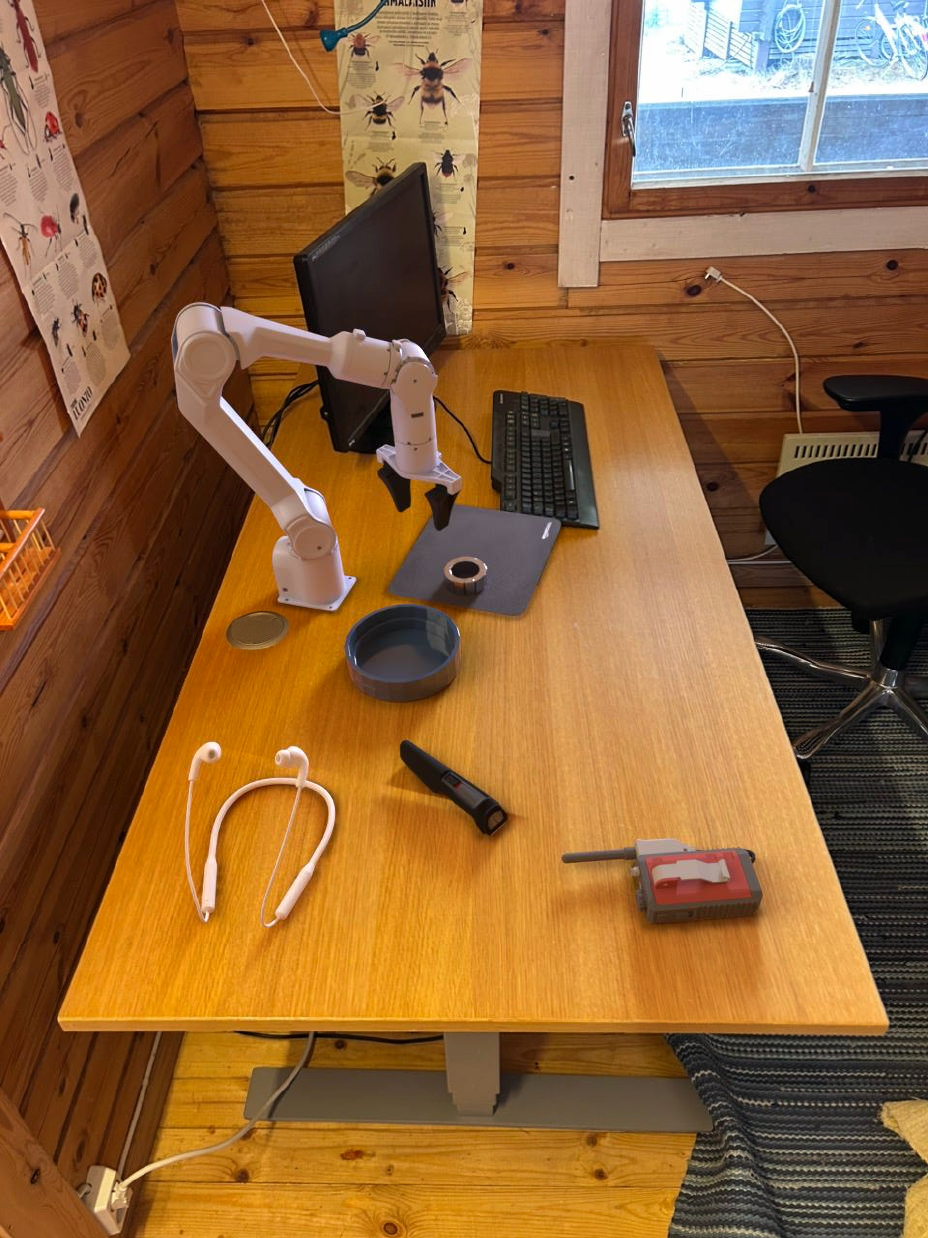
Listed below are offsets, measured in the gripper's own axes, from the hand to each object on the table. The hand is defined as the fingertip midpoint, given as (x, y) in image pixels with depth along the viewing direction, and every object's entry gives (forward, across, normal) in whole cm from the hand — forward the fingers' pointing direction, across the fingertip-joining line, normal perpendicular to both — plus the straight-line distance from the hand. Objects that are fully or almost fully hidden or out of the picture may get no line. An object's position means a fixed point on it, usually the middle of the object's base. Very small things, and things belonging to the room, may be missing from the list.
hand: (422, 518), depth 125 cm
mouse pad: (+9, -4, -7) cm, 12 cm away
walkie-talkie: (+10, -56, +24) cm, 62 cm away
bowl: (+9, -12, +17) cm, 23 cm away
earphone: (+10, -20, +48) cm, 53 cm away
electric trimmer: (+10, -31, +29) cm, 44 cm away
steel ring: (+9, -7, -1) cm, 12 cm away
